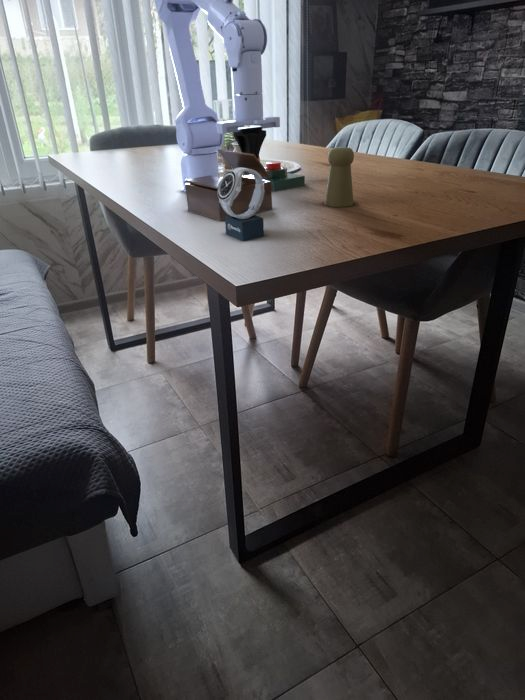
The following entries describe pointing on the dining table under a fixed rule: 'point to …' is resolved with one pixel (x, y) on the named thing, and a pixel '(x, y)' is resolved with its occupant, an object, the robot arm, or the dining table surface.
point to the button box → (283, 179)
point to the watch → (246, 222)
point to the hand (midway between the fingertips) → (251, 168)
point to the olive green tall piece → (340, 177)
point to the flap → (244, 162)
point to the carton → (207, 202)
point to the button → (273, 165)
